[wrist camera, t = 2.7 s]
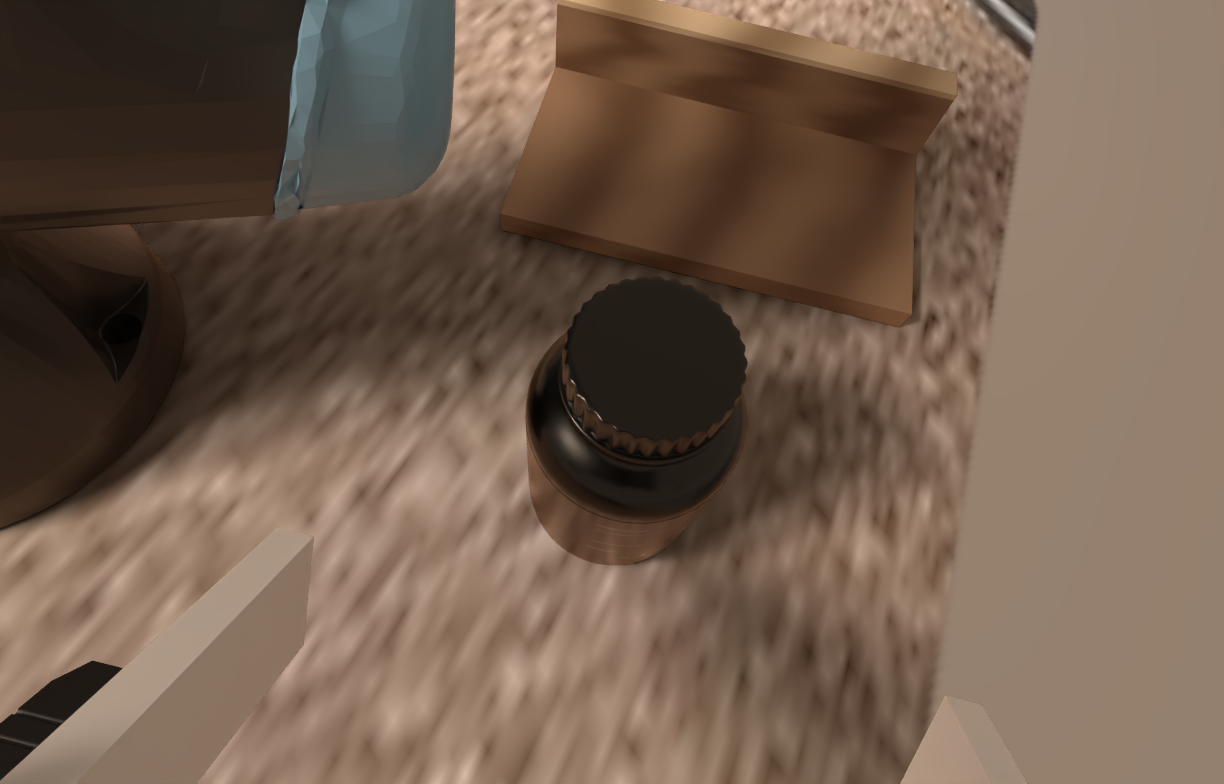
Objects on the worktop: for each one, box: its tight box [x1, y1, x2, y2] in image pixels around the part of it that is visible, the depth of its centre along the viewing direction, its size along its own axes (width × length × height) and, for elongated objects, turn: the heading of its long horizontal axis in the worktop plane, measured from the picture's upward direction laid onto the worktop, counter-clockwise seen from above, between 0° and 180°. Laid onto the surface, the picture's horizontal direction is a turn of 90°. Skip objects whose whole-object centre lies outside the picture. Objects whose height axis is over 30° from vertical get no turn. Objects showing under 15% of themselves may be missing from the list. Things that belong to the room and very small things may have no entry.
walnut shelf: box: [500, 0, 957, 327], centre depth 33 cm, size 20×12×5 cm, turn 77°
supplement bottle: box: [526, 277, 748, 565], centre depth 22 cm, size 7×7×12 cm
